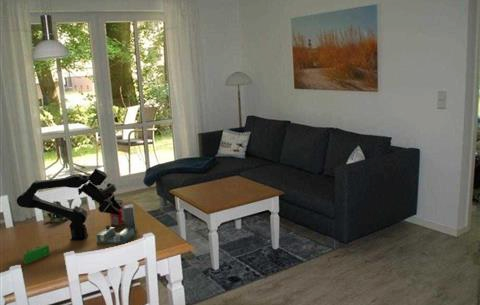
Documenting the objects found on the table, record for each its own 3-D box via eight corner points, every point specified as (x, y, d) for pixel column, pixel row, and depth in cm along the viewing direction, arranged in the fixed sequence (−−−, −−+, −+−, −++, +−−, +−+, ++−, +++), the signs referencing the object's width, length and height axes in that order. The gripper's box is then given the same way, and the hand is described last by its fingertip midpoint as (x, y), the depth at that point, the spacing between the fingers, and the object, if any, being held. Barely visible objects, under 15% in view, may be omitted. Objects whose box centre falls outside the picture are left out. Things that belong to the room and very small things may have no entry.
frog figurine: (34, 224, 232) (31, 204, 230) (58, 213, 249) (56, 195, 247) (59, 227, 226) (56, 206, 224) (83, 215, 242) (80, 196, 240)
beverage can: (126, 219, 230) (123, 198, 228) (127, 224, 223) (124, 202, 220) (111, 222, 228) (108, 200, 225) (111, 226, 220) (108, 204, 218)
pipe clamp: (45, 253, 192) (44, 243, 192) (50, 254, 190) (48, 245, 189) (21, 263, 183) (19, 253, 183) (25, 264, 181) (24, 254, 180)
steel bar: (126, 233, 210) (123, 208, 207) (127, 229, 214) (124, 205, 212) (135, 232, 210) (132, 207, 208) (136, 228, 215) (133, 204, 213)
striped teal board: (97, 243, 200) (95, 232, 199) (109, 234, 210) (108, 223, 209) (123, 244, 196) (122, 233, 195) (134, 235, 207) (133, 224, 205)
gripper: (102, 184, 196) (129, 204, 200) (106, 175, 214) (131, 193, 218) (87, 202, 197) (114, 222, 201) (92, 192, 215) (118, 210, 219)
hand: (120, 211), depth 210 cm, fingers open, 9 cm apart
